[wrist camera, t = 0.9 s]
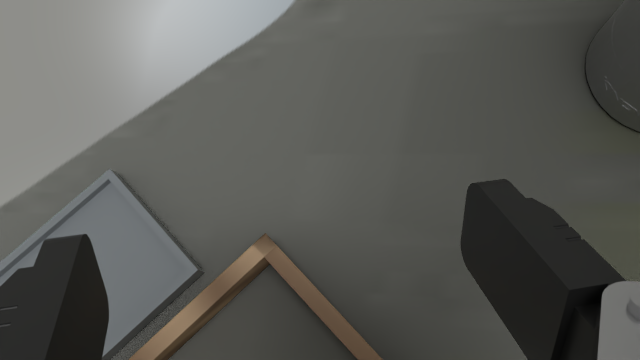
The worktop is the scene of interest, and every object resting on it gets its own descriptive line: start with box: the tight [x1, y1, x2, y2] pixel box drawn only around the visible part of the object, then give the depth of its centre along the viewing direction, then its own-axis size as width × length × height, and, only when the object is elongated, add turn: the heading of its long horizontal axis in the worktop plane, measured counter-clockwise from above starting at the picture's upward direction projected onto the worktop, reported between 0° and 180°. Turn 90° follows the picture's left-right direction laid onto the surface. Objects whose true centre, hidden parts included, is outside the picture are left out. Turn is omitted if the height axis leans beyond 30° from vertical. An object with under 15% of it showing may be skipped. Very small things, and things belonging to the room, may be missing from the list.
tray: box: [0, 169, 204, 360], centre depth 34 cm, size 12×9×2 cm
